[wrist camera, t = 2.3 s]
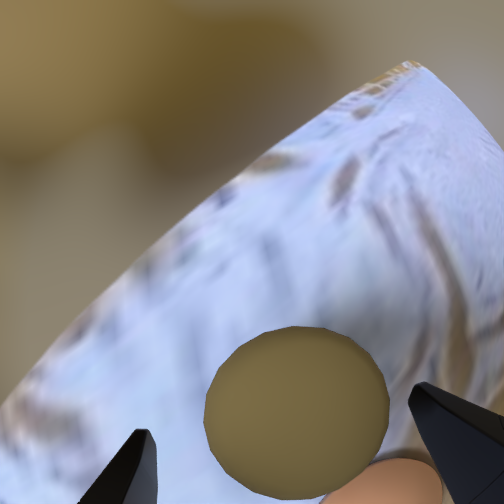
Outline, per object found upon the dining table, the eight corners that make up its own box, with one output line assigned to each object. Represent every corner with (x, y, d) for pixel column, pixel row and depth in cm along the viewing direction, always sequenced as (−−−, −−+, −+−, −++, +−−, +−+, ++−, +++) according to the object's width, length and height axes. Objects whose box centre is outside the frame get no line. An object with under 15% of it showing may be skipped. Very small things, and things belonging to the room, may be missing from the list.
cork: (309, 351, 17) (404, 286, 7) (317, 444, 14) (427, 490, 5) (208, 357, 16) (175, 300, 7) (215, 454, 14) (190, 538, 4)
